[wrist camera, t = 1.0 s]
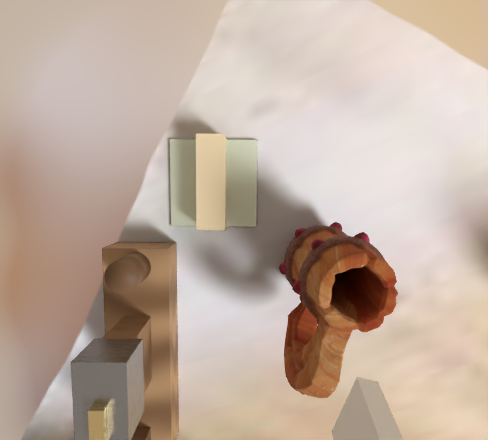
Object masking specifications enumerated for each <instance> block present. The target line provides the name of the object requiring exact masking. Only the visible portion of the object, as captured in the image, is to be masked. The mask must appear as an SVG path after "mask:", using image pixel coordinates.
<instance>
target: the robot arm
mask: <svg viewBox="0 0 488 440" xmlns="http://www.w3.org/2000/svg"><path fill="white" fill-rule="evenodd" d="M332 434H333V438H334V440H403V438H402V436H401V434H400V431H399V429H398V427H397V424H396V422H395V420H394V418H393V415H392V413H391V411H390V409H389V406H388V404H387V402H386V399H385V397H384V395H383V393H382V390H381V388H380V386H379V384H378V382H376V381H372V380H367V379H363V378H358V377H357V378H356V380H355V383H354V385H353V387H352V389H351V391H350V393H349V396H348V398H347V400H346V402H345V404H344V406H343V408H342V411H341V413H340V415H339V417H338V419H337V421H336V424H335V426H334V428H333V430H332Z"/></svg>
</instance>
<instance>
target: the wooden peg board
mask: <svg viewBox="0 0 488 440" xmlns="http://www.w3.org/2000/svg"><path fill="white" fill-rule="evenodd" d="M102 257H103V285H104V313H105V336H104V337H103V339H143V376H144V412H143V414H142V416H141V419H140V421H139V423H138V425H137V427H136V430H135V432H134V434H133V436H132V439H131V440H176V439H177V435H178V431H179V411H178V335H177V259H176V242H116V243H114V244H112V245H109V246H107V247H104V248H102Z"/></svg>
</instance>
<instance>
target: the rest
mask: <svg viewBox="0 0 488 440" xmlns="http://www.w3.org/2000/svg"><path fill="white" fill-rule="evenodd" d="M170 188H171V226H196V230H225V229H226V227H227V226H228V227H256V217H257V140H227V139H226V135H225V134H196V139H170Z"/></svg>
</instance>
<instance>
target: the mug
mask: <svg viewBox="0 0 488 440" xmlns="http://www.w3.org/2000/svg"><path fill="white" fill-rule="evenodd" d="M295 236H296V237H295V238H294V239H293V241H292V242H291V243H290V245H289V247H288V249H287V252H286V255H285V261H284V263H282V264H281V265H280V267H279V269H280V272H281V273H282V274H286V277H287V280H288V281H289V283H290V284H291V286H292V287H293V290H294V292H296V293H297V294H299V295H300V300H301V303H300V304H299V305H298V306H297V307H296V308H295V309H294V310H293V311H292V312H291V313H290V314H289V315H288V326H287V332H286V339H285V348H284V360H285V372H286V377H287V379H288V382H289V383H290V385H291V386H292V387H293V388H294V389H295V390H296V391H299V392H300V393H302V394H307V395H308V396H313V397H318V398H327V397H329V396H330V395H331V394H332V393H333V392H334V391H335V389H336V387H337V385H338V383H339V379H340V373H341V366H342V359H343V353H344V350H345V347H346V344H347V341H348V339H349V337H350V334H351V332H352V330H355V329H359V330H360V331H361V332H368V331H370V330H373V329H375V328H378V327H379V326H380V325H381V324H382V323H383V320H384V316H386V315H389V314H391V313H392V312H393V310H394V308H395V306H396V296H397V294H398V292H397V290H396V289H395V287H394V285H395V283H396V282H397V281H396V276H395V273H394V271H393V269H392V268H391V267H390V266H389V265H388V263H387V262H386V261H385V259H384V258H383V256H382V255H381V253H380V252H379V251H378V250H377V249H376V248H375V247H374V246H373V245H371V244H370V243H369V238H368V235H367V234H365V233H364V232H362V233H359V234H357V235H355V236H354V237H350V236H347V235H346V234H345V233H344V232H342V227H341V225H340V224H339V223H337V222H335V223H333V224H331V225H330V227H328V226H316V227H311V228H309V229H306V230H304V229H302V228H300V229H298V230H296V232H295ZM317 324H318V326H317Z"/></svg>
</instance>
